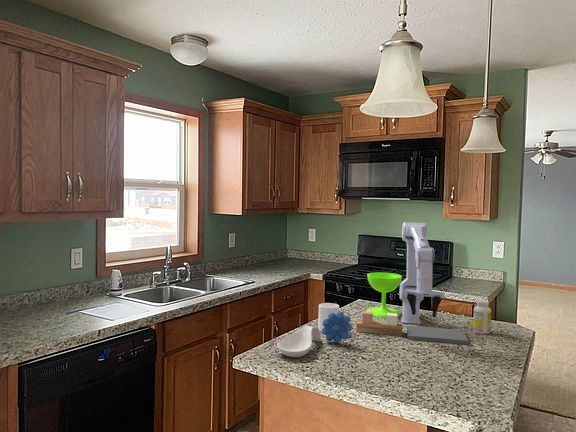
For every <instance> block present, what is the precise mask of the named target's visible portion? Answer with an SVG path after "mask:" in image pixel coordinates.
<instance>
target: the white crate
mask: <svg viewBox="0 0 576 432" xmlns="http://www.w3.org/2000/svg"><path fill="white" fill-rule="evenodd" d="M386 322H387V325H392V326H397V323H398V317H397V314H396V313H387V318H386Z"/></svg>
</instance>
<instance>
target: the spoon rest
mask: <svg viewBox="0 0 576 432" xmlns="http://www.w3.org/2000/svg"><path fill="white" fill-rule="evenodd" d="M321 341H322V339H321V334H320V331H319V329H318V328H317V327H316V326H310V325H303V326H302V327H301V328H299V329H297V330H296V331H295V332H293V333H291V334H290V335H288V336H286V337H284V338H283V339H280V341H278V342H277V345H276V346H277V349H278V350H279V352H280V353H281V354H282V355H285V356H286V357H289V358H301V357H304V356H305V355H306V354H308V353H309V351H310V350H311V348H312V345H313V342H321Z"/></svg>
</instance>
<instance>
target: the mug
mask: <svg viewBox="0 0 576 432" xmlns="http://www.w3.org/2000/svg"><path fill="white" fill-rule="evenodd" d="M338 312H340V305H339V304H336V303H332V302H322V303H320V304H318V322H317V324H318V326H317V327H318V328H317V329H318V331H319V332H321V333H322V329H323V328H324V326H323V320H325V319H328V315H329V314H330V313H335V314H337V313H338Z"/></svg>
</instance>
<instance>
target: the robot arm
mask: <svg viewBox="0 0 576 432" xmlns="http://www.w3.org/2000/svg"><path fill="white" fill-rule="evenodd" d="M427 233H428V225H427V224H426V222H406V221H404V222H403V223H402V226H401V239H402V241H403V242H405V243H406V244H405V245H406V278H405V279H403V280H401V282H400V285H399V291H398V292H399V295H398V296H399V299H400V301H402V307H401V308H402V309H401V310H402V312H401V313H402V315H400V322H401V323H402V324H414V325H415V324H416V325H420V324H421V319H420V304H421V302H422V301H423V300H424V297H426V298H427V297H429V298H431V300H432V318H436V317H437V312H438V309H439V306H440V304H441V302H442V300H443V299H445V292H441V291H433V264H434V262H435V255H436V254H435V249H434V248H433V247H430V243H429V240H428V239H427V238H426V236H427Z"/></svg>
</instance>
